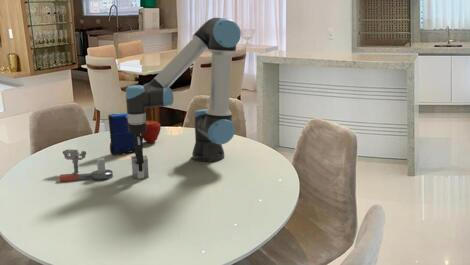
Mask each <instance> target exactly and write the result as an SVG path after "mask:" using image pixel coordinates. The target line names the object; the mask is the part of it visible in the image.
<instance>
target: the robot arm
mask: <svg viewBox="0 0 470 265" xmlns="http://www.w3.org/2000/svg"><path fill="white" fill-rule="evenodd" d="M241 32H242V31H241V28H240V26H239V24H238V23H237V22H235V20H232V19H229V18H226V17H223V18H222V17H212V18H209V19H208V20H207V21H205V22H204V23H203V24H201V26H200V27H199V28H198V29H197V30H196V31H195V33H194V34H192V39H191V40H190V41H189V42H188V43H187V44H186V45H185V46H184V47H183V48H182V49H181V50H180V51H179V52H178V53H177V54H176V55H175V56H174V57H173V58H172V59H171V61H169V63H167V64H166V65H165V66H164V67H163V68H162V70H160V71H159V73H158V74H156V76H154V78H153V79H151V81H150V82H148V83H144V84H143V85H140V84H137V85H136V84H133V85H129V86H126V88H125V102H126V113H127V116H126V118H128V123H129V124H128V132H129V133H132V134H133V133H134V136H133V140H134V145H135V151H134V156H137V163H135V164H137V175H138V179H145V178H144V165H143V163H144V161H143V156H144V153H143V147H144V144H143V143H144V142H143V141H144V139H143V137H142V135H141V133H144V132H146V123H145V122H146V121H147V114H146V112H147V111H146V109H147V108H149V109H150V108H157V107H160V108H161V107H168V106H172V105H173V103H174V99H175V98H174V92H173V90H172V89H171V86H172V85H173V84H174V83H175V81H177V80H178V78H180V77H181V76H182V75H183V73H184V72H186V71H187V70H188V69H189V67H190V66H192V64H194V63H195V61H197V60H198V58H199V57H200V56H201V55H203V53H204V52H207V51H209V52H210V53H211V66H210V68H211V70H210V89H209V108H204V109H197V110H195V111H194V116H193V117H194V135H195V136H194V137H195V138H194V139H195V143H194V146H193V149H192V154H191V156H192V159H193V160H194V161H196V162H205V163H206V162H215V161H217V162H218V161H220V160H223V159H224V158H225V150H224V147H223V145H225V144H227V143H229V142H230V141H231V140H232V139H233V138H234V135H235V132H236V131H235V130H236V129H235V126H234V123H233V122H232V121H233V119H232V118H233V113H232V111H231V110H230V109H229V108H230V96H231V95H230V94H231V77H232V63H233V62H232V58H233V54H235V52H236V51H237V44H238V43H239V42H240V40H241V37H242V36H241V34H242V33H241ZM140 160H141V161H140Z"/></svg>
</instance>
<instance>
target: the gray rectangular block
mask: <svg viewBox="0 0 470 265" xmlns="http://www.w3.org/2000/svg"><path fill="white" fill-rule="evenodd" d="M130 157H131V171H132V174H131V175H132V178H133V179H134V180H136V179H138V175H137V164H135V163H137V156H136V155H134V156H130ZM140 161H141V160H140ZM143 161H144V163H143V165H144V178H143V179H146V178H150V177H149V163H148V162H149V161H148V157H147V155H145V154H143Z"/></svg>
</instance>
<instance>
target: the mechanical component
mask: <svg viewBox="0 0 470 265" xmlns="http://www.w3.org/2000/svg"><path fill="white" fill-rule="evenodd" d="M62 154H63V156H64V159H66V160H72V162H71V163H72V164H73V171H74V173H79V166H78V163H79V161H82V160H83V159H85V158H86V155H87V152H86V151H85V150H82V151H81V152H80V151H79V149H64V150H63V151H62ZM74 173H73V174H74Z"/></svg>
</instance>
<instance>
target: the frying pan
mask: <svg viewBox="0 0 470 265" xmlns="http://www.w3.org/2000/svg"><path fill="white" fill-rule="evenodd" d="M96 161H97V162H96V163H97V169H96V170H93V171H92V172H90V173H89V172H88V173H79V172H77V173H65V174H64V173H63V174H60V175H59V182H60V183H65V182H66V183H67V182H78V181H85V180H86V181H88V180H93V181H97V182H98V181H107V180H111V179H113V177H114V174H113V170H111V169H106V162H105V157H98V158H96ZM78 173H79V174H78Z"/></svg>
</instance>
